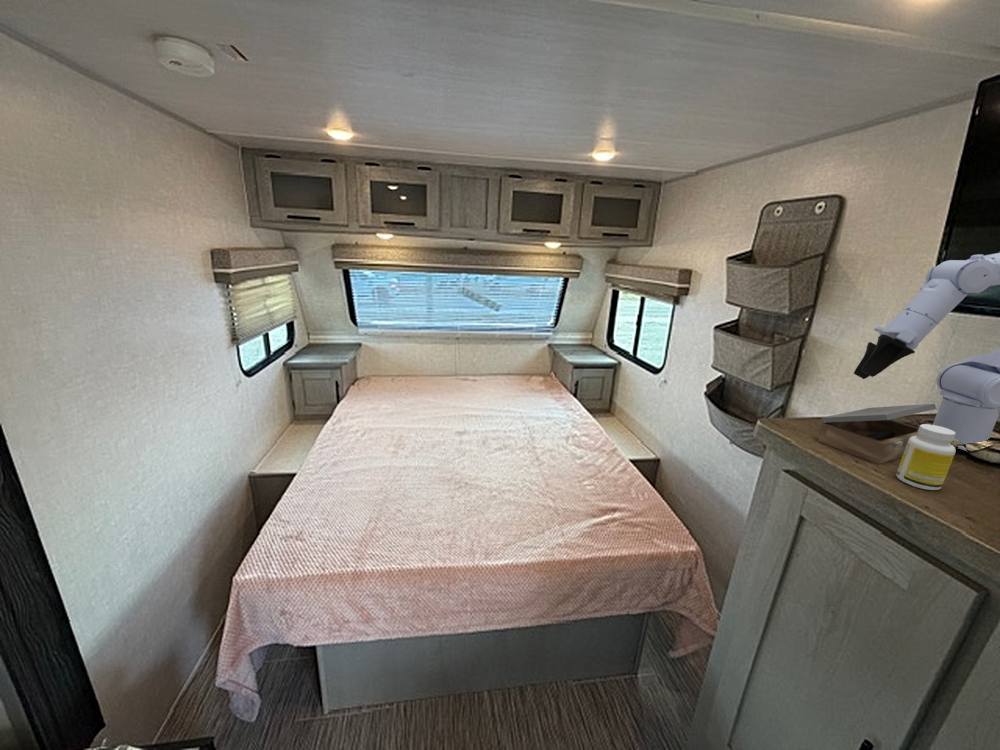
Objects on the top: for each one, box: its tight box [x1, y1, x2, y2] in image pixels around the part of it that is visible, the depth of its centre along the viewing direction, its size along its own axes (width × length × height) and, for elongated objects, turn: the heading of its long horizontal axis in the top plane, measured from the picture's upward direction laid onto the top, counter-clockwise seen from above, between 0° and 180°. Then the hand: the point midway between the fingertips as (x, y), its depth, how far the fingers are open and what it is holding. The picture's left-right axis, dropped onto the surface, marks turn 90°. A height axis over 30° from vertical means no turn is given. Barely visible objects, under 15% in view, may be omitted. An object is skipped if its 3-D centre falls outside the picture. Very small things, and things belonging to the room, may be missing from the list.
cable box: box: [817, 419, 919, 465], centre depth 79 cm, size 16×10×4 cm, turn 112°
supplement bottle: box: [895, 423, 957, 491], centre depth 65 cm, size 5×5×10 cm
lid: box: [821, 403, 937, 424], centre depth 78 cm, size 16×10×1 cm, turn 112°
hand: (862, 375), depth 80 cm, fingers open, 7 cm apart
